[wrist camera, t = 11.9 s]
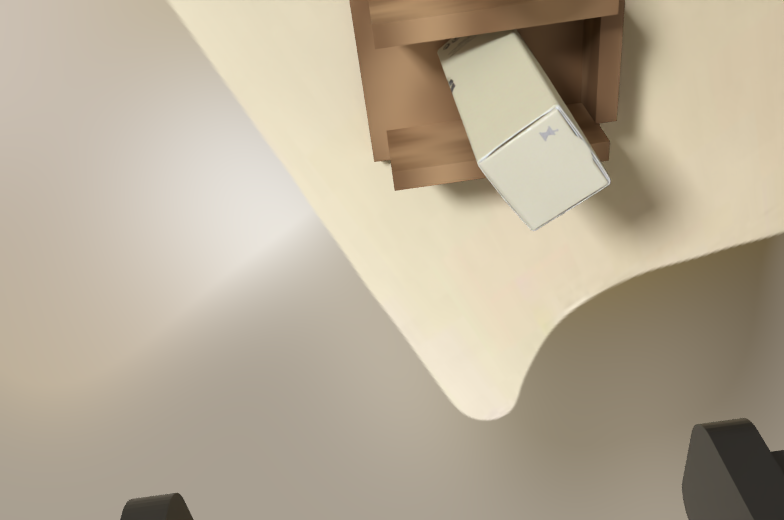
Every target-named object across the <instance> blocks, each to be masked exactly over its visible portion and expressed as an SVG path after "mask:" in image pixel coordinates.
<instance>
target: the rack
mask: <svg viewBox="0 0 784 520" xmlns="http://www.w3.org/2000/svg"><path fill="white" fill-rule="evenodd" d="M350 7H351V13H352V20H353V26H354V33H355V39H356V46H357V52H358V59H359V65H360V72H361V78H362V85H363V91H364V98H365V104H366V110H367V117H368V123H369V130H370V136H371V143H372V149H373V156H374V162H377V161H384V160H391V167H392V174H393V181H394V189H395V191H396V190H403V189H410V188H417V187H424V186H431V185H438V184H445V183H453V182H460V181H467V180H474V179H481V178H487V177H486V176H485V175H484V173H483V172H482V171H481V169H480V168H479V166H478V164H477V161H476V158H475V155H474V153H473V150H472V147H471V144H470V141H469V139H468V136H467V133H466V130H465V127H464V125H463V122H462V119H461V116H460V114H459V111H458V108H457V106H456V103H455V100H454V97H453V95H452V92H451V89H450V86H449V84H448V81H447V78H446V76H445V73H444V70H443V67H442V65H441V62H440V59H439V56H438V53H437V52H438V50H439V49H440V48H441V47H442V46H443V45H444V44H446V43H447V42H448V41H449V40H450V39H452V38H457V37H464V36H471V35H478V34H485V33H491V32H498V31H505V30H512V29H516V30H517V31H518V32H519V34H520V35H521V37H522V38H523V40H524V41H525V43H526V44H527V46H528V47H529V49H530V50H531V52H532V53H533V55H534V56H535V58H536V59H537V61H538V62H539V64H540V65H541V67H542V68H543V70H544V72H545V73H546V75H547V76H548V78H549V79H550V81H551V82H552V84H553V86H554V87H555V89H556V90H557V92H558V94H559V95H560V97H561V98H562V100H563V102H564V103H565V105H566V106H567V108H568V109H569V111H570V113H571V114H572V116H573V117H574V119H575V121H576V122H577V124H578V125H579V127H580V129H581V130H582V132H583V133H584V135H585V137H586V138H587V140H588V141H589V143H590V145H591V146H592V148H593V150H594V151H595V153H596V155H597V156H598V158H599V160H600V161H608V160H609V147H610V141H609V139H608V138H607V136H606V135H605V133H604V132H603V130H602V129H601V127H600V123H605V122H612V121H617V109H618V94H619V80H620V66H621V51H622V37H623V22H624V8H625V0H350Z"/></svg>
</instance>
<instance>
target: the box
mask: <svg viewBox="0 0 784 520" xmlns="http://www.w3.org/2000/svg"><path fill="white" fill-rule="evenodd" d="M437 53H438V56H439V59H440V62H441V65H442V67H443V70H444V73H445V76H446V78H447V81H448V84H449V86H450V89H451V92H452V95H453V97H454V100H455V103H456V106H457V108H458V111H459V114H460V116H461V119H462V122H463V125H464V127H465V130H466V133H467V136H468V139H469V141H470V144H471V147H472V150H473V153H474V155H475V158H476V161H477V164H478V166H479V168H480V169H481V171H482V172H483V173H484V175H485V176H486V177H487V179H488V180H489V181H490V182H491V184H492V185H493V186H494V188H495V189H496V190H497V191H498V193H499V194H500V195H501V196H502V198H503V199H504V200H505V201H506V202H507V204H508V205H509V206H510V207H511V208H512V210H513V211H514V212H515V213H516V214H517V215H518V216H519V218H520V219H521V220H522V221H523V222H524V223H525V224H526V225H527V226H528V227H529V229H530V230H532V231H536V230H538V229H539V228H541V227H542V226H544V225H545V224H547V223H548V222H550V221H552V220H554V219H555V218H557V217H559V216H560V215H562V214H564V213H565V212H567V211H568V210H570V209H572V208H573V207H575V206H577V205H578V204H580V203H582V202H583V201H585V200H586V199H588V198H589V197H591V196H593V195H594V194H596V193H597V192H599V191H601V190H602V189H604V188H605V187H607V186H608V185H610V183H611V179H610V177H609V175H608V173H607V171H606V170H605V168H604V166H603V165H602V163H601V161H600V160H599V158H598V156H597V155H596V153H595V151H594V150H593V148H592V146H591V145H590V143H589V141H588V140H587V138H586V137H585V135H584V133H583V132H582V130H581V129H580V127H579V125H578V124H577V122H576V121H575V119H574V117H573V116H572V114H571V113H570V111H569V109H568V108H567V106H566V105H565V103H564V102H563V100H562V98H561V97H560V95H559V94H558V92H557V90H556V89H555V87H554V86H553V84H552V82H551V81H550V79H549V78H548V76H547V75H546V73H545V72H544V70H543V68H542V67H541V65H540V64H539V62H538V61H537V59H536V58H535V56H534V55H533V53H532V52H531V50H530V49H529V47H528V46H527V44H526V43H525V41H524V40H523V38H522V37H521V35H520V34H519V32H518V31H517V30H516V29H512V30H505V31H498V32H491V33H485V34H478V35H471V36H464V37H457V38H452V39H450V40H449V41H448V42H447V43H446V44H444V45H443V46H442V47H441V48H440V49H439V50H438V52H437Z"/></svg>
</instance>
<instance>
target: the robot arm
mask: <svg viewBox="0 0 784 520" xmlns="http://www.w3.org/2000/svg"><path fill="white" fill-rule="evenodd" d="M682 493H683V500H684V505H685V509H686V513H687V516H688V519H689V520H784V450H781V451H774V452H770V450H769V449H768V447H767V445H766V444H765V442H764V440H763V439H762V437H761V435H760V434H759V432H758V430H757V429H756V427H755V426H754V425H753V424H752V422H750V421H749V420H748V419H746V418H740V419H733V420H726V421H718V422H711V423H704V424H697V425H695V426H694V428H693V430H692V434H691V439H690V445H689V450H688V455H687V461H686V466H685V471H684V476H683V483H682ZM120 520H193V518H192V516H191V514H190V511H189V510H188V507H187V505H186V503H185V501H184V499H183V497H182V496H181V495H180V494H179V493H173V494H165V495H159V496H150V497H143V498H136V499H131V500H129V501H128V502H127V503H126V505H125V507H124V509H123V512H122V515H121V519H120Z"/></svg>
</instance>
